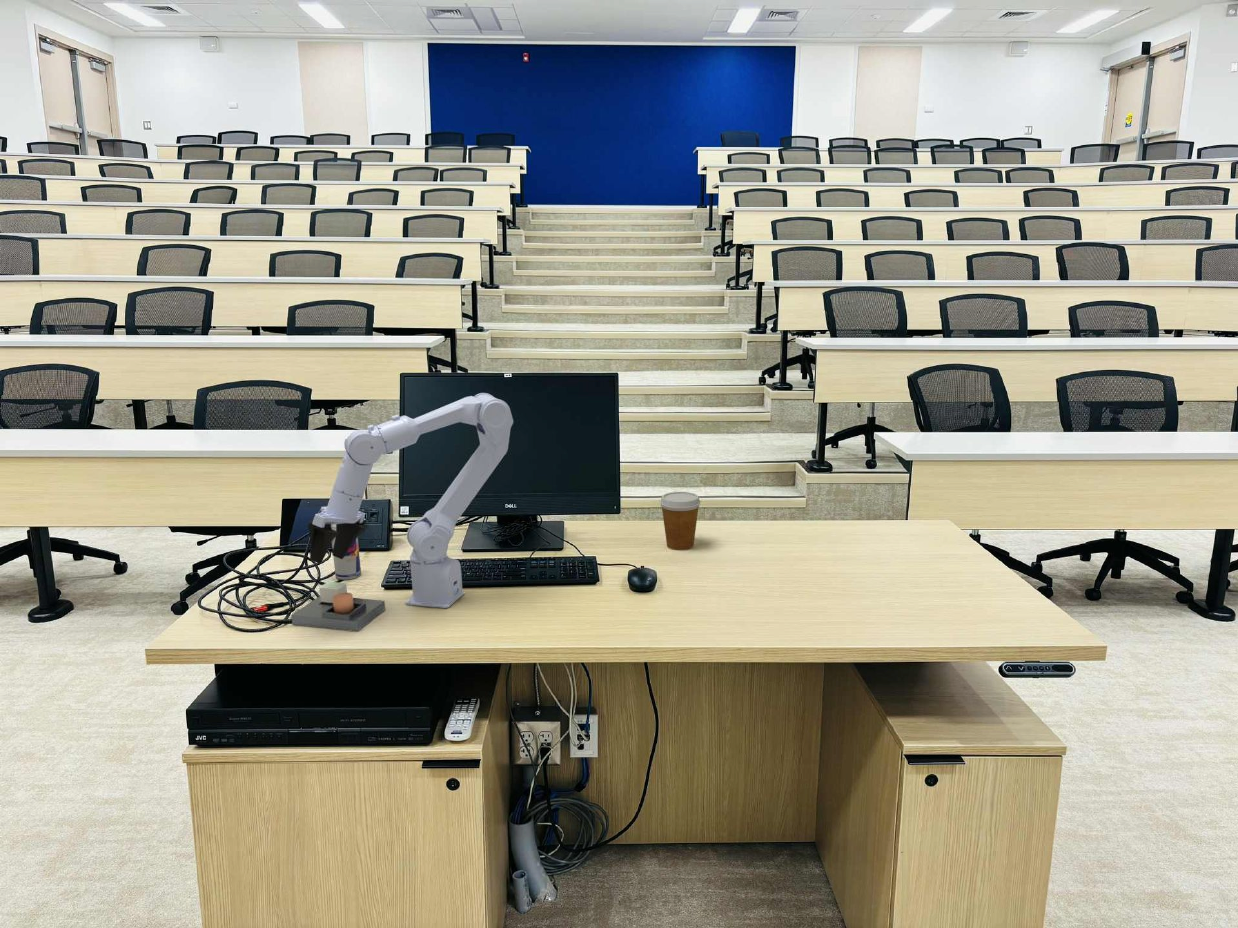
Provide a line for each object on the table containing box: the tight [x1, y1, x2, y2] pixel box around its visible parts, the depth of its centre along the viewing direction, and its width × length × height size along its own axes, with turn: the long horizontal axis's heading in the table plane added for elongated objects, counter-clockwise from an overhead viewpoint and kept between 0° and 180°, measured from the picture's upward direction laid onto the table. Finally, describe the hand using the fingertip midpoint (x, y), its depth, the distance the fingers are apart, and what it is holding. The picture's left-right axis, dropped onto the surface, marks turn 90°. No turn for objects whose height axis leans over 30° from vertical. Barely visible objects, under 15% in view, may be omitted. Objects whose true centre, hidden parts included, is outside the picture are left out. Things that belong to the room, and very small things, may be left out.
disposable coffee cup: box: [659, 491, 702, 551], centre depth 202 cm, size 10×10×12 cm
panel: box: [290, 595, 386, 632], centre depth 167 cm, size 14×10×3 cm
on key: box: [319, 581, 348, 603], centre depth 169 cm, size 4×3×3 cm
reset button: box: [333, 592, 354, 614], centre depth 164 cm, size 4×4×3 cm
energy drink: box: [331, 524, 362, 581], centre depth 187 cm, size 5×5×12 cm
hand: (326, 559), depth 164 cm, fingers open, 7 cm apart
